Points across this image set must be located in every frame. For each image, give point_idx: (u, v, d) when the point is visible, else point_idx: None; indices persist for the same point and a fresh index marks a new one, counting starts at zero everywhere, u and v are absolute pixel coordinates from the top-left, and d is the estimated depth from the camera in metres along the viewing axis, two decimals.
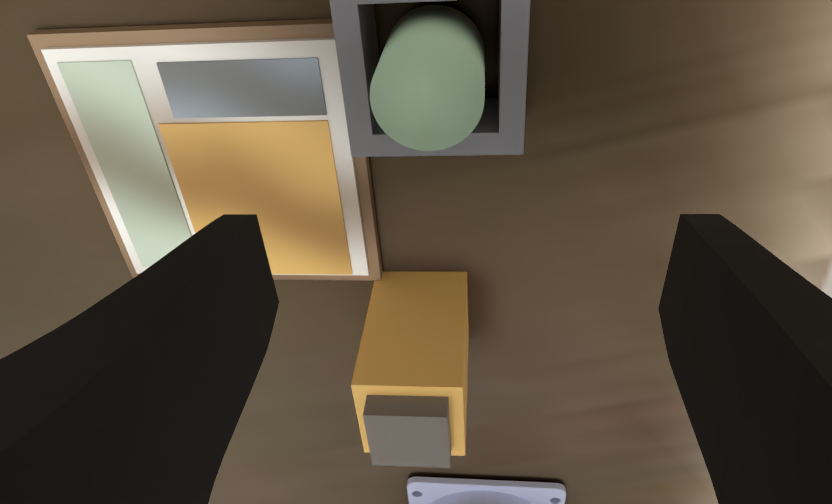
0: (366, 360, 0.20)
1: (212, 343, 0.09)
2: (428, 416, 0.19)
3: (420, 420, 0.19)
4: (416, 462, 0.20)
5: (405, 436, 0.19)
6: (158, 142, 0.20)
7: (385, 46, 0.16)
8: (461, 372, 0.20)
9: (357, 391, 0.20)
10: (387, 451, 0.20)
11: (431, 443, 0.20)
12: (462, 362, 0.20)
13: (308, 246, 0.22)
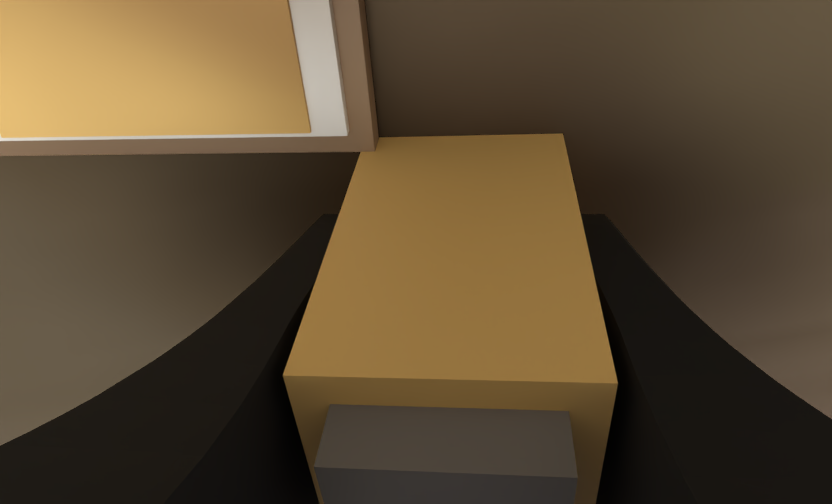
0: (332, 311, 0.07)
1: None
2: (516, 473, 0.06)
3: (490, 485, 0.06)
4: None
5: None
6: None
7: None
8: (604, 340, 0.07)
9: (303, 394, 0.07)
10: None
11: None
12: (599, 314, 0.07)
13: (206, 58, 0.10)
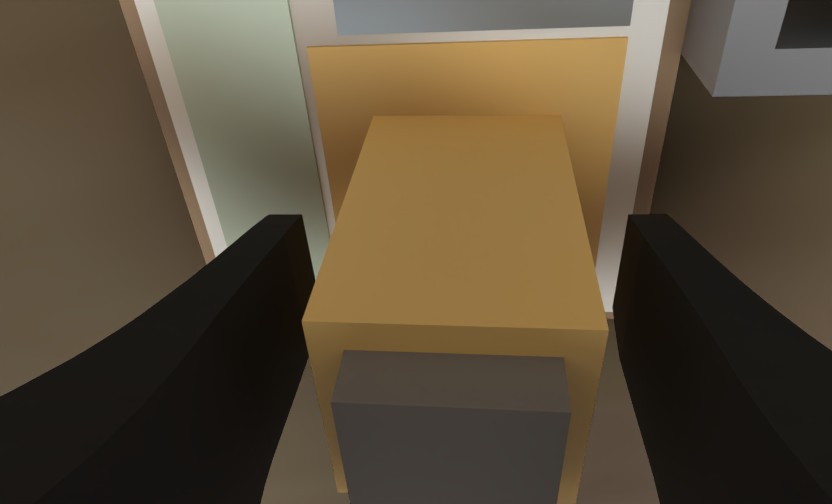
0: (345, 267, 0.08)
1: (264, 344, 0.09)
2: (515, 409, 0.07)
3: (492, 420, 0.07)
4: None
5: (444, 462, 0.07)
6: (301, 81, 0.11)
7: None
8: (597, 294, 0.07)
9: (319, 340, 0.07)
10: (394, 498, 0.08)
11: (513, 481, 0.07)
12: (593, 272, 0.08)
13: None
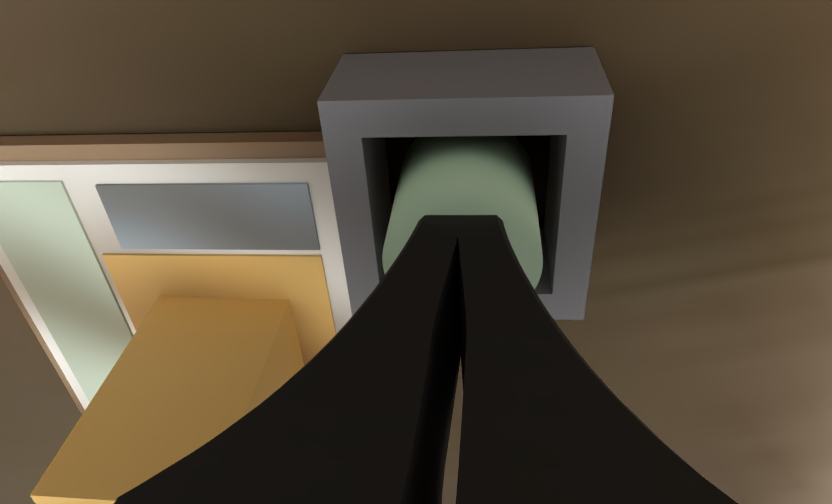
0: (76, 449, 0.12)
1: (447, 348, 0.09)
2: None
3: None
4: None
5: None
6: (103, 274, 0.16)
7: (403, 181, 0.12)
8: None
9: None
10: None
11: None
12: None
13: None
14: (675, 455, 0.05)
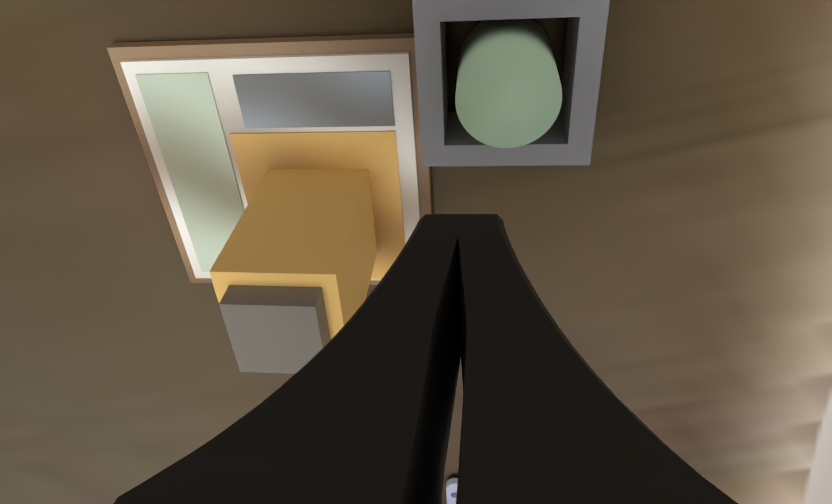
0: (233, 249, 0.18)
1: (447, 348, 0.09)
2: (294, 306, 0.16)
3: (285, 311, 0.16)
4: (288, 367, 0.18)
5: (271, 333, 0.17)
6: (227, 151, 0.21)
7: (466, 51, 0.17)
8: (338, 260, 0.17)
9: (218, 280, 0.17)
10: (254, 353, 0.17)
11: (302, 341, 0.17)
12: (341, 251, 0.17)
13: None
14: (675, 455, 0.05)
